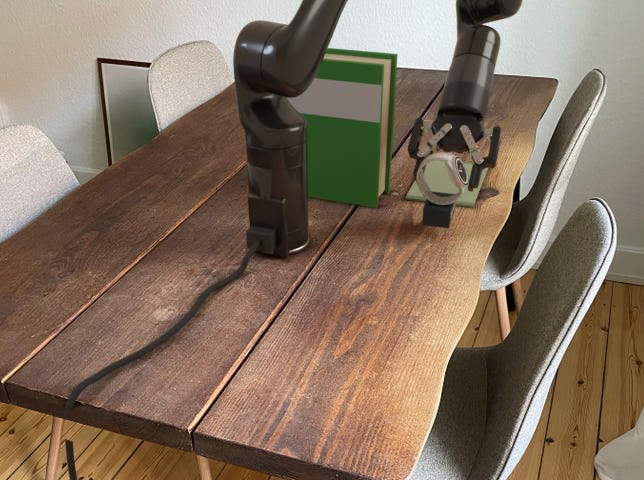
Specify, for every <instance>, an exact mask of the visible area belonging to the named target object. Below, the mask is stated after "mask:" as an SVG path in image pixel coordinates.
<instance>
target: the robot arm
mask: <svg viewBox="0 0 644 480" xmlns="http://www.w3.org/2000/svg"><path fill="white" fill-rule="evenodd" d="M348 1H349V0H301V2H300V4H299V7H298V8H297V10H296V12H295V14H294V16H293V17H292V19H291V20H290V21H289V23H288V24H286V23H282V22H281V23H280V22H276V21H270V20H262V19H261V20H260V19H259V20H258V19H257V20H253V21H250V22H248V23H247V24H245V25H244V26H243V27H242V28H241V30H240V31H239V32H238V34H237V37H236V39H235V43H234V47H233V55H232V56H233V57H232V66H233V69H232V70H233V79H234V87H235V96H236V97H235V98H236V104H237V113H238V118H239V122H240V124H241V126H242V128H243V130H244V136H245V149H246V151H245V152H246V167H247V168H246V169H247V182H248V183H247V184H248V185H247V186H248V196H247V208H248V224H249V227H248V228H247V229H246V231H245V236H246V237H245V238H246V249H248V250H247V252H246V253H245V254H244V256H243V258H242V262H241V264H240V266H239V267H238V268H237V270H235V271H234V272H233V273H232V274H230V275H229V276H227V277H226V278H223V279H221V280H219V281H217V282H214V283H213V284H212V285H210V286H209V287H207V288H206V289H205V290H204V291H203V292H202V293H200V295H199V296H198V298H197V299H196V301H195V302H194V304H193V305H192V307H191V309H190V310H188V312H187V313H186V314H185V315H184V316H183V317H182V318H181V319H180V320H179V321H178V322H177V323H175V325H173V326H172V327H171V328H170V329H168V330H167V331H166V332H165V333H164V334H162V335H161V336H159V337H157V339H155V340H153V341H152V342H150V343H149V344H147V345H145V346H144V347H142V348H141V349H139V350H137V351H135V352H133V353H130V354H129V355H127V356H124V357H122V358H120V359H118V360H116V361H114V362H113V363H111V364H108V365H107V366H105V367H103V368H102V369H101V370H99V371H98V372H96V373H94V374H93V375H91V376H89V377H87V378H85V379H82V381H80V382H79V383H78V384H76V386H75V387H74V388H73V390H72V391H71V392H70V394H69V396H68V398H67V400H66V402H65V405H64V410H65V411H69V410H70V411H71V410H72V409H73V408H74V406H75V403H76V401H77V399H78V398H79V396H80V395H81V393H82V392H83V391H84V390H85V389H87V388H88V387H89V386H91V385H93V384H95V383H97V381H100V380H101V379H103V378H104V377H106V376H107V375H109V374H111V373H113V372H114V371H116V370H118V369H119V368H121V367H124V366H125V365H127V364H130V363H132V362H134V361H136V360H138V359H140V358H142V357H144V356H146V355H147V354H149V353H151V352H152V351H154V350H155V349H157V348H158V347H160V346H161V345H163V344H164V343H165V342H167V341H168V340H170V339H171V338H172V337H174V336H175V335H176V334H177V333H179V331H180V330H182V328H184V327H185V326H186V325H187V324H188V323H189V322H190V321H191V320H192V319H193V317H195V315H196V314H197V312H199V310H200V308H201V307H202V305H203V303H205V301H206V300H207V299H208V297H209V296H210V295H211V294H212V293H214V292H215V291H216V290H218V289H220V288H222V287H224V286H227V285H228V284H230V283H232V282H234V281H235V280H237V279H239V277H241V275H242V274H243V273H244V272H245V271H246V269H247V267H248V266H249V265H248V264H249V262H250V259H251V258H252V257H253V255H254V253H257V254H262V255H267V256H273V257H277V258H283V259H286V258H287V257H289V256H290V255H294V254H297V253H300V252H302V251H303V250H305V249H306V248H308V246H309V245H310V232H309V228H310V225H309V224H310V223H309V197H308V138H307V122H306V119H305V118H304V116H303V115H302V114H301V113H299V112H298V111H297V110H296V109H295V108H294V107H293V106H292V105H291V104H290V102H289V101H288V99H287V98H294V97H297V96H300V95H301V94H302V93H304V92H305V91H306V90H307V89H308V87H309V86H310V85H311V83H312V82H313V80H314V78H315V77H316V74H317V72H318V70H319V68H320V66H321V63H322V61H323V59H324V56H325V54H326V51H327V49H328V48H329V46H330V43H331V41H332V38H333V36H334V33H335V31H336V28H337V26H338V24H339V21H340V18H341V16H342V14H343V12H344V10H345V8H346V5H347V3H348ZM522 5H523V0H455V17H456V43H455V45H454V46H455V47H454V51H453V55H452V59H451V63H450V66H449V69H448V70H447V74H446V77H445V81H444V84H443V89H442V94H441V97H440V101H439V106H438V110H437V114H436V117H435V119H434V120H433V121H432V122H429V121H424V120H423V118H422V117H418V118H417V117H416V119H415V120H414V124H413V126H412V127H413V128H412V131H411V135H410V138H409V140H408V141H409V142H408V144H407V153H408V156H409V158H410V159H411V160H413V159H414V160H416V161H415V163H414V164H415V165H414V169H413V173H412V176H413V179H414V181H415V180H416V177H417V172H418V169H419V167H420V165H421V163H422V161H423V160H424V159H425V158H426V157H428V156H429V155H431V154H433V153H437V152H438V153H439V152H441V151H442V150H443V152H444V153H453V152H454V153H457V154H462V155H463V154H464V153H466V152H467V154H468V156H469V157H470V160H471V162H473V163H474V165H473V166H472V170H471V175H470V179H469V183H468V191H472V192H473V190H474V188H477V187H478V186H479V182H480V178H481V174H482V171H483V169H485V168H488V169H495V168H496V166H497V162H498V158H499V157H498V156H499V152H500V146H501V141H502V128H501V126H500V125H495V126H494V127H493V128H489V127H485V126H484V124H485V119H486V115H487V112H488V107H489V104H490V103H489V102H490V98H491V96H492V92H493V85H494V79H495V71H496V70H495V69H496V65H497V61H498V57H499V54H500V49H501V42H502V41H501V35H500V33H499V31H498V30H497V29H495V28H494V27H492V26H489V25H486V24H489V23H493V22H497V21H501V20H506V19H510V18H511V17H514V16H515V15H517V13H518V12H519V11H520V9H521V7H522ZM430 131H431V133H432V135H433V136H432V137H430V138H429V140H428V141H427V142H426V143H425V145H424V146H423V147H421V148H420V145H421V142H422V138H423V137H425V136H426V135H427V134H428V132H430ZM484 137H485V138H486V141H487V143H488V144H490V145H489V149H488V154H487V156H482V154H481V152H480V150H479V147H478V145H477V144H478V143H479V142H480V141H481V140H482V139H483V138H484ZM425 168H426V165H424V166H423V167H422V170H423V174H424V173H425ZM416 183H417V181H416ZM64 443H65V456H66V462H67V471H68V478H69V480H78V477H77V476H78V475H77V470H76V469H77V468H76V461H75V449H74V441H73V440H70V439H66V438H64Z"/></svg>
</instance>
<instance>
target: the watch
mask: <svg viewBox="0 0 644 480" xmlns="http://www.w3.org/2000/svg"><path fill="white" fill-rule="evenodd" d="M441 160H442V161H444V162H445V165H446V166H447V168H448V173H449V176H450V179H451V181H452V183H453V184H454V185H455V186H456V187H457V188H458V189H459V192H458V193H456V194H450V193H441V192H432V191H430V188H429V186H428V184H427V183H426V180H425V178H424V174H423V170H422V167H423V166H424V165H426V164H428V163H430V161H431V162H432V161H441ZM463 161H464V160H463V159H462V158H461V157H460V156H458V155H454V154H453V153H452V152H444V151H439V152H437V153H433V154H431V155H429V156H428V157H426V158H425V159H424V160H423V161H422V163H421V165H420V167H419V169H418V172H417V177H416V181H417V185H418V187H419V190H420V192H421V193H422V195H423V197H424V198H425V199H426V198H427V200H426V202H424V205H423V208H422V220H421V226H425V227H432V228H441V229H450V227H451V224H452V220H453V217H454V215H455V211H456V210H455V209H456V206H455V202H456V201H457V200H458V199H459V198H460V197H461V196H462V195H463V193H464V189H465V187H466V186H468V182H469V179H468V173H467V170H466V167H465V165H464V163H463Z"/></svg>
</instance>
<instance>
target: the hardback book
mask: <svg viewBox="0 0 644 480" xmlns="http://www.w3.org/2000/svg"><path fill="white" fill-rule="evenodd" d="M397 65H398V53H390V52H379V51H370V50H369V51H367V50H355V49H345V48H333V47H328V49H327V51H326V54H325V56H324V59H323V61H322V63H321V66H320V68H319V70H318V72H317V74H316V77H315V78H314V80H313V82H312V83H311V85H310V86H309V87H308V89H307V90H306V91H305V92H304V93H302V94H301V95H300V96H297V97H294V98H287V99H288V101H289V102H290V104H291V105H292V106H293V107H294V108H295V109H296V110H297V111H298V112H299V113H301V114H302V115H303V116H304V118H305V119H306V122H307V138H308V198H314V199H319V200H325V201H332V202H337V203H338V202H339V203H343V204H348V205H349V204H350V205H357V206H362V207H367V208H373V209H376V208H378V207H379V197H380V196H381V195H382V194H388V195H389V194H390V192H391V179H392V160H393V144H394V143H393V142H394V141H393V140H394V124H395V107H396V106H395V105H396V90H397V89H396V88H397V87H396V85H397V70H398V69H397V68H398V66H397Z"/></svg>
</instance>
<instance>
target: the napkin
mask: <svg viewBox="0 0 644 480" xmlns="http://www.w3.org/2000/svg"><path fill="white" fill-rule="evenodd" d="M462 161H463V163H464V165H465V167H466V170H467V173H468V179H470V175H471V170H472V166H473V165H474V163H473V161H466V160H462ZM488 170H489V167H488V168H485V169H483V171H482V174H481V178H480V182H479V186H478V187H477V188H474V190H473V192H472V191H468V186H466V187H465V189H464V193H463V195H462V196H461V197H460V198H459V199H458V200H457V201H456V202H455V207H456V206H457V207H464V208H474V206H475V203H476V201H477V198H478V196H479V194H480V190H481V188H482V185H483V182H484V180H485V178H486V175H487V172H488ZM424 178H425V180H426V183H427V184H428V186H429V188H430V191H432V192H441V193H450V194H456V193H458V192H459V189H458V188H457V187H456V186H455V185H454V184H453V183H452V181H451V179H450V176H449V173H448V168H447V166H446V165H445V162H444V161H442V160H441V161H432V162H431V161H430V163H428V164H426V168H425V173H424ZM468 183H469V182H468ZM404 200H405V201H406V200H407V201H415V202H424V203H425V202H426V200H427V198H426V199H425V198H424V197H423V195H422V193H421V192H420V190H419V187H418V185H417V183H416V180H414V181H413V183H412V184H411V187H410V188H409V190H408V191H407V194H406V196H405V197H404Z"/></svg>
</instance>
